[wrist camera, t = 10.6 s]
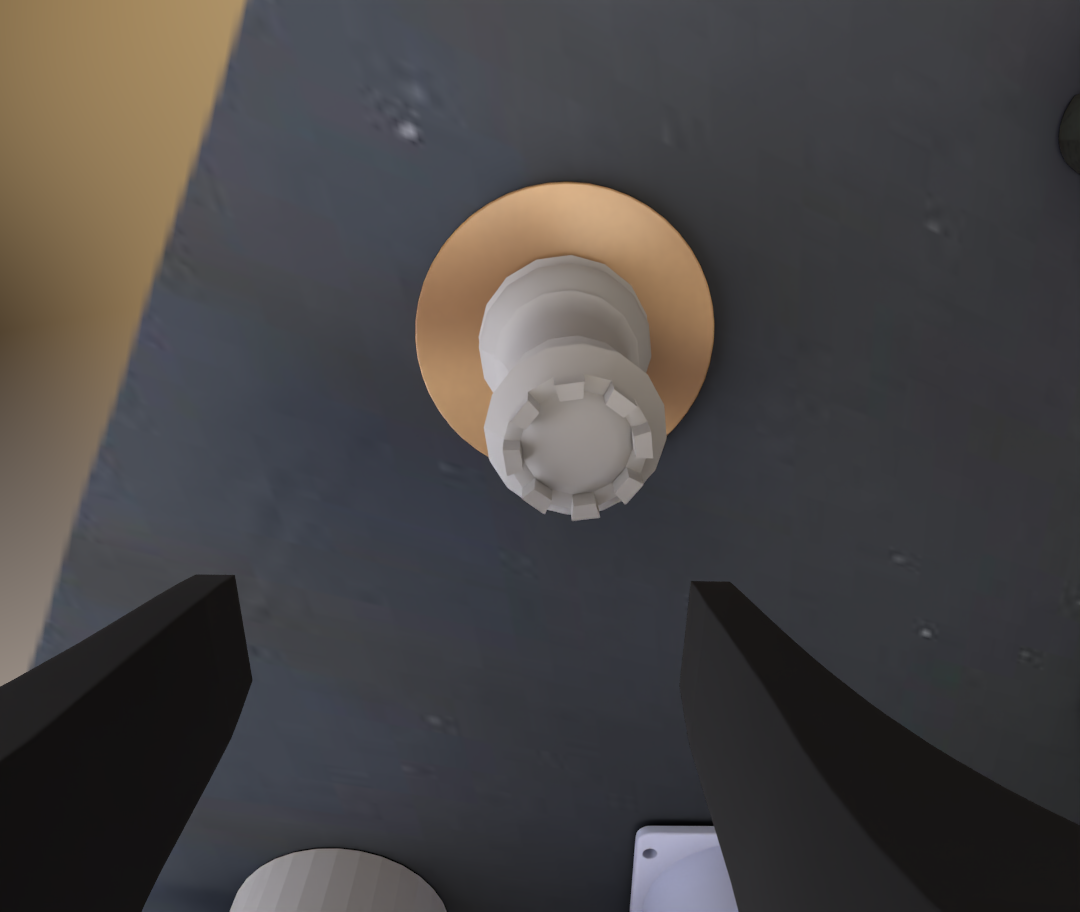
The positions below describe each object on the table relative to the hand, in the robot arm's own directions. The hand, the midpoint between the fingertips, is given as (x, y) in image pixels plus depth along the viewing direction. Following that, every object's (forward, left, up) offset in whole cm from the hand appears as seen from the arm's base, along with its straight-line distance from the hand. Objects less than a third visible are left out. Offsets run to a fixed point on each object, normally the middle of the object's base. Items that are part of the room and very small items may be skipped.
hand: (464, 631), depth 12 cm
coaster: (+2, -2, -10) cm, 10 cm away
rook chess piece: (+2, -2, -10) cm, 10 cm away
